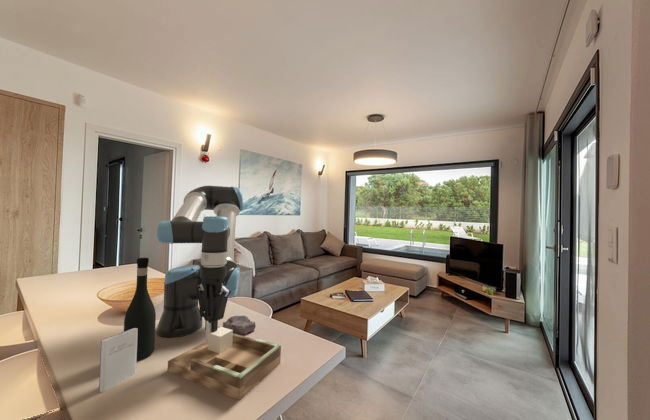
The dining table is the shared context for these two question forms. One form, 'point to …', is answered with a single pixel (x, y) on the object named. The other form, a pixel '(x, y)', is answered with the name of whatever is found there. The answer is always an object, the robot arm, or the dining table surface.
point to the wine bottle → (142, 313)
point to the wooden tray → (228, 365)
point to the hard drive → (118, 358)
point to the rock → (239, 324)
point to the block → (220, 340)
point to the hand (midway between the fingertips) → (210, 341)
